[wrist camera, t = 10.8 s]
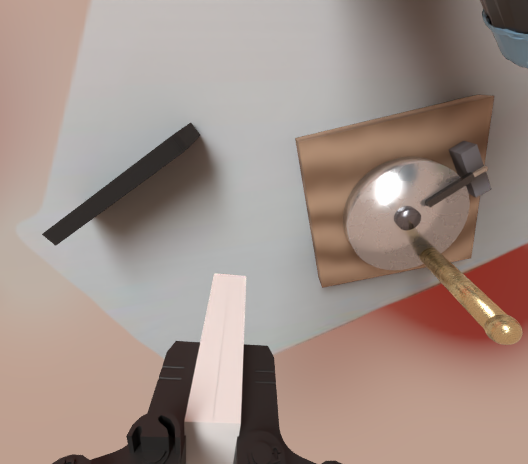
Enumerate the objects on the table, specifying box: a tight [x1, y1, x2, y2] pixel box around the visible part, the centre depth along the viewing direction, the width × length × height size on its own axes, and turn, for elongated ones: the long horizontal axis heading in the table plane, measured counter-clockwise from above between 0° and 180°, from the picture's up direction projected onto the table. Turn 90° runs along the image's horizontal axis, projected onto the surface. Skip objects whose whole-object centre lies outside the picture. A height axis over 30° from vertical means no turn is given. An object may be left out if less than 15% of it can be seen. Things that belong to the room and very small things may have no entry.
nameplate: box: [42, 123, 200, 246], centre depth 36 cm, size 21×2×10 cm, turn 123°
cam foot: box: [343, 156, 522, 345], centre depth 33 cm, size 16×17×18 cm
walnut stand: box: [295, 95, 494, 288], centre depth 41 cm, size 24×24×6 cm
